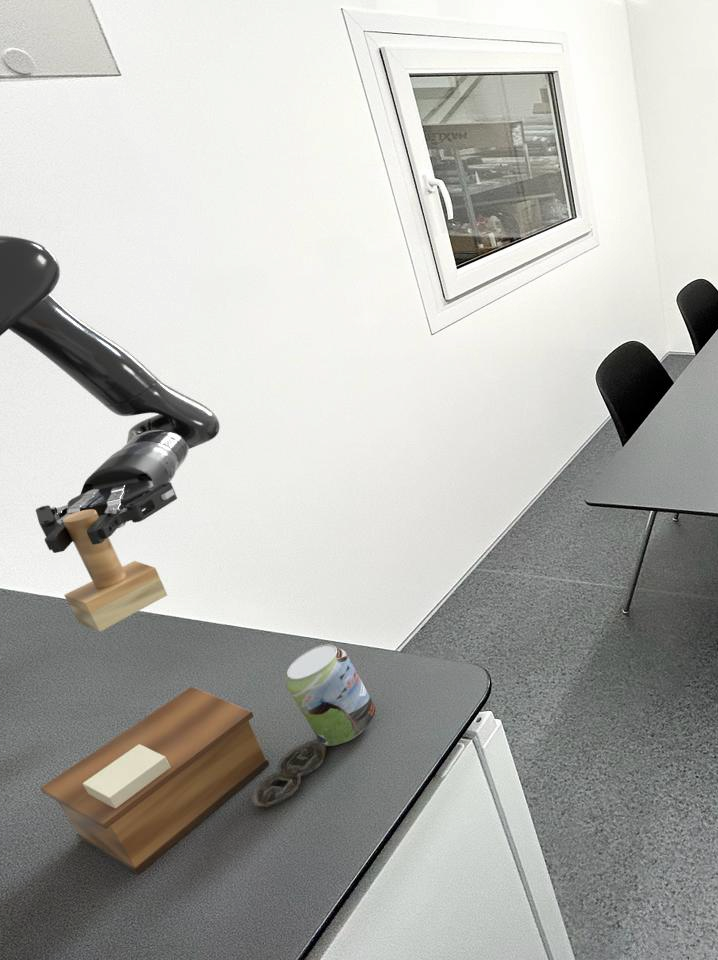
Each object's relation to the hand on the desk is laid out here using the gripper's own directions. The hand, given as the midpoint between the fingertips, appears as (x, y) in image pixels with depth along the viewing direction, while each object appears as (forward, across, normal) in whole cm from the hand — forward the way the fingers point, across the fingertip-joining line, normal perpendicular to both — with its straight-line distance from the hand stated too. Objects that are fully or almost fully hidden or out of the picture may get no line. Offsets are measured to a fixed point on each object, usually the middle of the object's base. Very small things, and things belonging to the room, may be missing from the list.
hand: (74, 541), depth 75 cm
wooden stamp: (-3, 0, +13) cm, 13 cm away
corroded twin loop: (+24, +20, +24) cm, 40 cm away
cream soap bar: (+25, +8, +16) cm, 31 cm away
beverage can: (+20, +24, +24) cm, 40 cm away
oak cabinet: (+21, +9, +24) cm, 34 cm away
